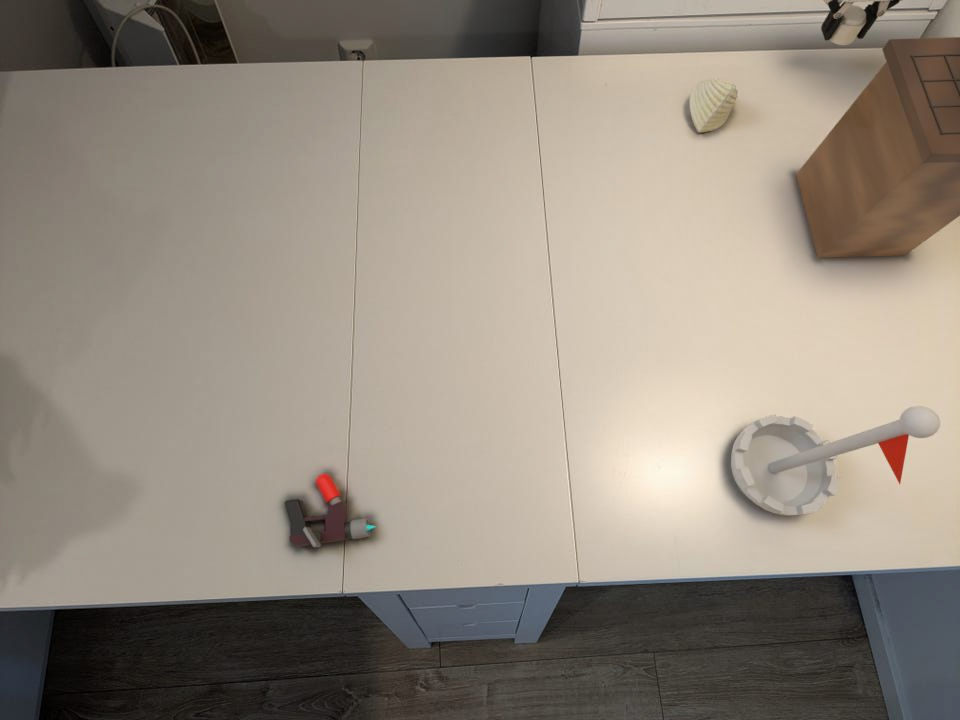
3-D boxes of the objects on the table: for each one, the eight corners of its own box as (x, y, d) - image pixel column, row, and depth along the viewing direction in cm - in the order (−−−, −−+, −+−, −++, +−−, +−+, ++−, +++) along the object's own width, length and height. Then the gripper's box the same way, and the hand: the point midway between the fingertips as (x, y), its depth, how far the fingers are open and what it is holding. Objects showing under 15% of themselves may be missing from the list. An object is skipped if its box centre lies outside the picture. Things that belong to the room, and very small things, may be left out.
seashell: (745, 89, 97) (754, 102, 91) (709, 130, 103) (714, 145, 97) (710, 61, 96) (717, 72, 90) (675, 104, 101) (679, 118, 95)
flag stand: (720, 419, 80) (847, 343, 52) (812, 427, 79) (992, 356, 51) (724, 511, 76) (865, 484, 47) (822, 522, 75) (1023, 500, 47)
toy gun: (379, 539, 75) (372, 538, 71) (290, 552, 75) (277, 552, 70) (373, 468, 78) (366, 462, 74) (288, 480, 78) (276, 475, 73)
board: (881, 168, 94) (1017, 34, 70) (912, 261, 88) (1071, 149, 64) (787, 171, 94) (890, 38, 70) (811, 264, 88) (932, 154, 64)
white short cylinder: (851, 24, 96) (865, 2, 93) (858, 44, 95) (873, 23, 91) (823, 25, 96) (836, 3, 93) (829, 45, 95) (843, 24, 91)
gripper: (968, -103, 79) (885, 15, 96) (847, -97, 80) (786, 20, 97) (986, -68, 77) (897, 47, 94) (861, -62, 77) (796, 52, 94)
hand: (841, 32), depth 95 cm, fingers closed on white short cylinder, 4 cm apart
